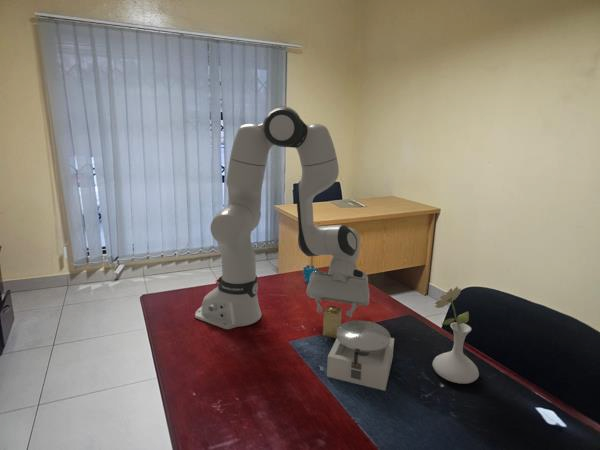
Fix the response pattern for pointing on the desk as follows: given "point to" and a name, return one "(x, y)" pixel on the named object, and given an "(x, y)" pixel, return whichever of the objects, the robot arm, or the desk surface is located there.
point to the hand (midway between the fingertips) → (333, 314)
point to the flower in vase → (455, 347)
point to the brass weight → (331, 321)
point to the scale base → (360, 366)
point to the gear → (308, 272)
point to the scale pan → (363, 337)
